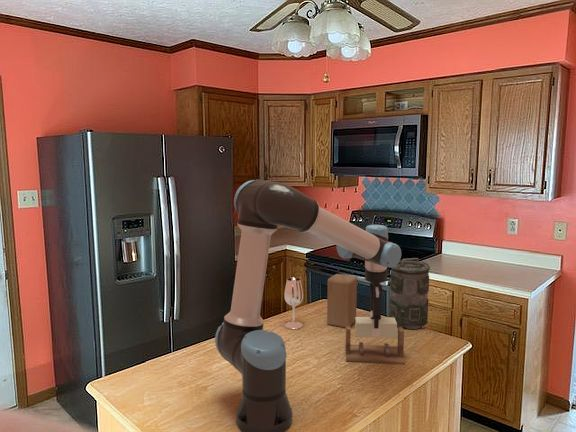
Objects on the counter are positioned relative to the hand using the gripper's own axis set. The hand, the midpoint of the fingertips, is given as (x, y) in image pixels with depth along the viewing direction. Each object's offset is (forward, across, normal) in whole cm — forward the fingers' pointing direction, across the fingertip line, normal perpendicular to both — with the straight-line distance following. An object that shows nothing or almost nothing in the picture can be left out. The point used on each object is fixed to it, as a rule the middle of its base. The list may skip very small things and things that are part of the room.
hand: (374, 332), depth 160 cm
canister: (+9, +32, -17) cm, 37 cm away
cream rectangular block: (+1, 0, 0) cm, 1 cm away
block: (+9, +29, +11) cm, 32 cm away
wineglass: (+8, +24, +31) cm, 40 cm away
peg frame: (+8, 0, 0) cm, 8 cm away
